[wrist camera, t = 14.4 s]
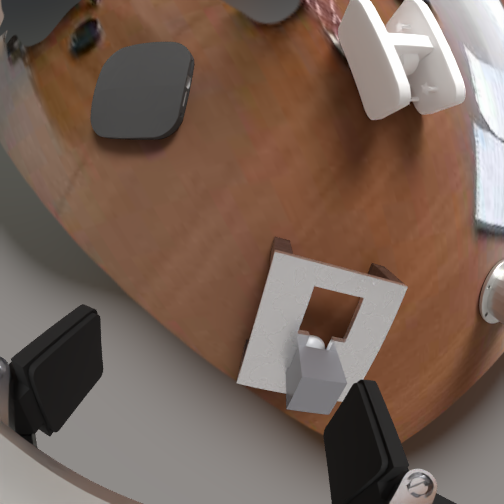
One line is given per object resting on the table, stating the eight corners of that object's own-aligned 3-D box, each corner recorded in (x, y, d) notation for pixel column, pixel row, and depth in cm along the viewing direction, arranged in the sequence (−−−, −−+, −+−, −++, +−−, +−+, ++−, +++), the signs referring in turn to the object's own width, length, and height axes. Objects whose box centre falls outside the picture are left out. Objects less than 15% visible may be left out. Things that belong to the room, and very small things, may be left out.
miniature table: (383, 266, 36) (407, 286, 28) (339, 369, 40) (349, 402, 33) (274, 236, 36) (274, 251, 28) (242, 349, 41) (236, 383, 33)
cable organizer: (331, 30, 28) (349, -14, 17) (394, 30, 27) (425, -6, 15) (365, 123, 31) (402, 102, 20) (427, 117, 30) (474, 101, 19)
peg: (332, 337, 34) (347, 383, 25) (319, 366, 35) (328, 414, 26) (296, 329, 34) (302, 376, 25) (284, 359, 35) (286, 409, 26)
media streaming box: (114, 54, 31) (105, 48, 28) (200, 47, 30) (195, 38, 27) (95, 139, 35) (84, 138, 32) (181, 141, 34) (173, 138, 31)
